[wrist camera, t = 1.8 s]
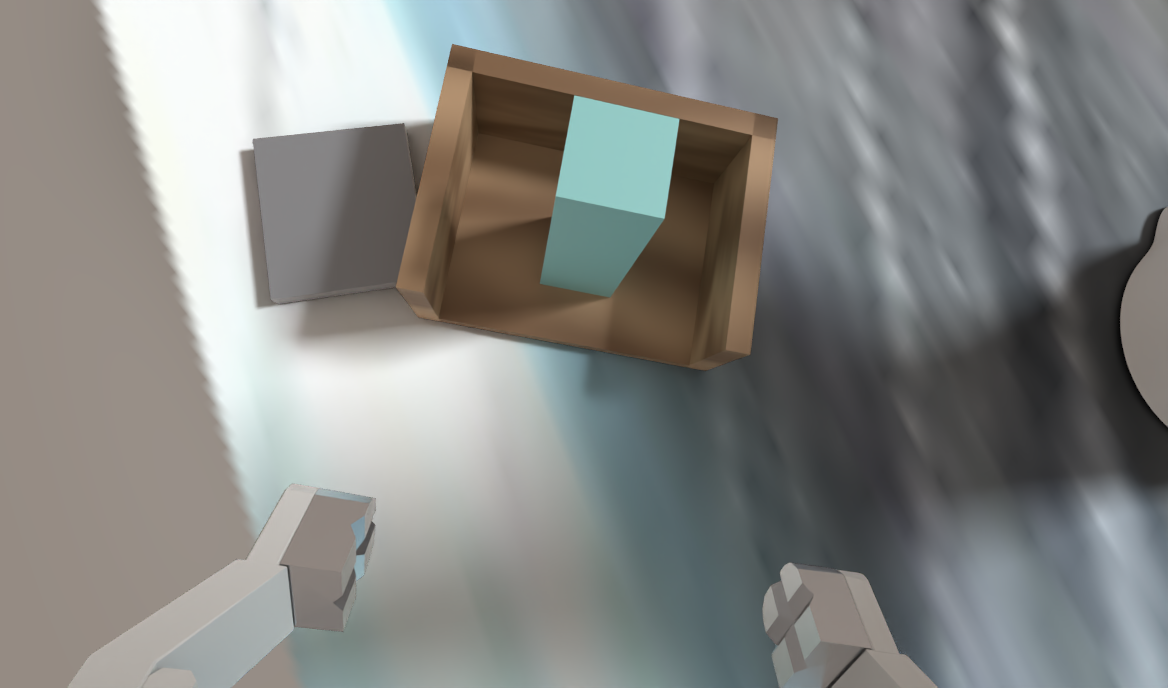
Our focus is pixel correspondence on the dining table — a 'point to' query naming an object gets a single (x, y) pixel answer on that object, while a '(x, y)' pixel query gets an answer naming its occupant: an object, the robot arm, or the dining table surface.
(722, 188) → the crate
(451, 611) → the dining table surface
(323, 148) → the coaster
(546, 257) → the block
